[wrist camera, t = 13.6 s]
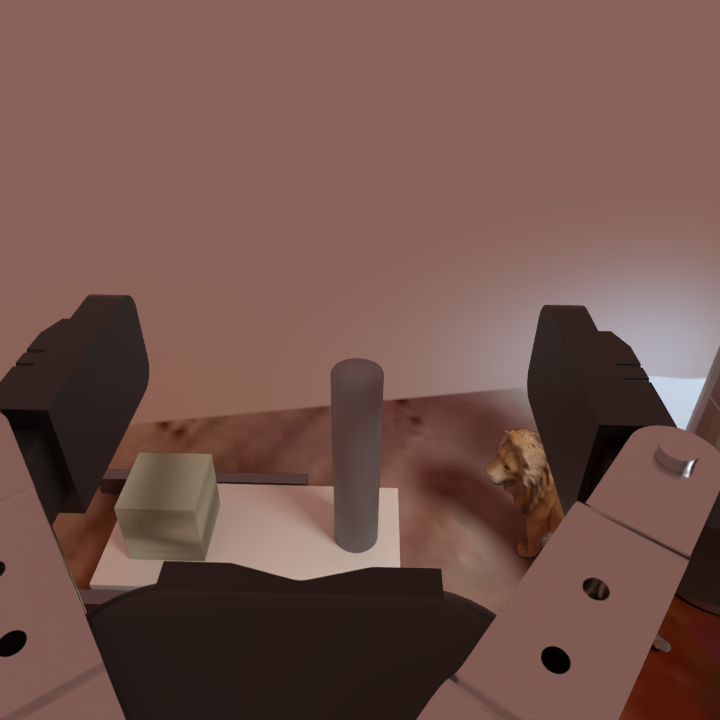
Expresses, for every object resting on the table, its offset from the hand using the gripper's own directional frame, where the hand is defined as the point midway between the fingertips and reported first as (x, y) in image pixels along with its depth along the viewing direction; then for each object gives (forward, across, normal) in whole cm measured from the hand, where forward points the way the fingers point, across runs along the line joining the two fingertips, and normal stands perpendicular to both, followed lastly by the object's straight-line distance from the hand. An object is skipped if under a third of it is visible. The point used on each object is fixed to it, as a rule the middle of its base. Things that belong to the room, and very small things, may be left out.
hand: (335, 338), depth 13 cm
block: (+18, +12, +28) cm, 36 cm away
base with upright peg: (+18, +7, +30) cm, 36 cm away
